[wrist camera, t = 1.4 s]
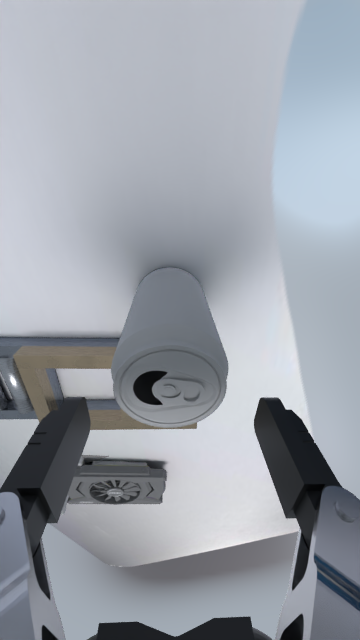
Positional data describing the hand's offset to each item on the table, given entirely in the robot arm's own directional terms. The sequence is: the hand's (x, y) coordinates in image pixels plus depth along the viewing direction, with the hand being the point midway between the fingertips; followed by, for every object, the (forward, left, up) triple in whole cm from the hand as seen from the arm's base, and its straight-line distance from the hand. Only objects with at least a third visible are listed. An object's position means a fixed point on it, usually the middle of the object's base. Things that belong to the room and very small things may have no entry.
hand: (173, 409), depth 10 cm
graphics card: (+32, -9, -14) cm, 36 cm away
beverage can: (0, 0, -13) cm, 13 cm away
